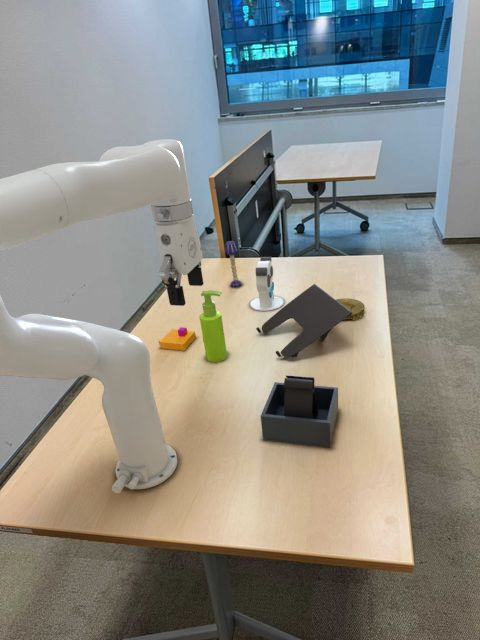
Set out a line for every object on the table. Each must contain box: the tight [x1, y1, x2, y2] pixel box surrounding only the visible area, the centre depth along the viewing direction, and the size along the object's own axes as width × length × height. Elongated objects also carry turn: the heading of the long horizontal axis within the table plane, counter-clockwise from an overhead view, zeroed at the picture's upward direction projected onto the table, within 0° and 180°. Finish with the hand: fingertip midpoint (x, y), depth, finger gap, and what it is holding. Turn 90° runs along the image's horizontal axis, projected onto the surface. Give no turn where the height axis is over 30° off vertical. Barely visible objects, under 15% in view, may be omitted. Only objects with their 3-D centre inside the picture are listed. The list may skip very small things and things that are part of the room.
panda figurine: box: [249, 256, 284, 312], centre depth 159 cm, size 12×11×15 cm
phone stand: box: [283, 374, 318, 419], centre depth 103 cm, size 9×6×12 cm, turn 164°
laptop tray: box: [255, 283, 352, 359], centre depth 139 cm, size 23×23×9 cm
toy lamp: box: [224, 240, 243, 289], centre depth 175 cm, size 5×5×17 cm
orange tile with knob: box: [158, 326, 197, 352], centre depth 143 cm, size 8×8×4 cm
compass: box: [335, 297, 365, 321], centre depth 151 cm, size 12×12×2 cm
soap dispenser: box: [199, 289, 228, 363], centre depth 130 cm, size 6×7×20 cm
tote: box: [260, 381, 339, 449], centre depth 105 cm, size 13×15×7 cm
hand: (187, 294), depth 98 cm, fingers open, 9 cm apart
